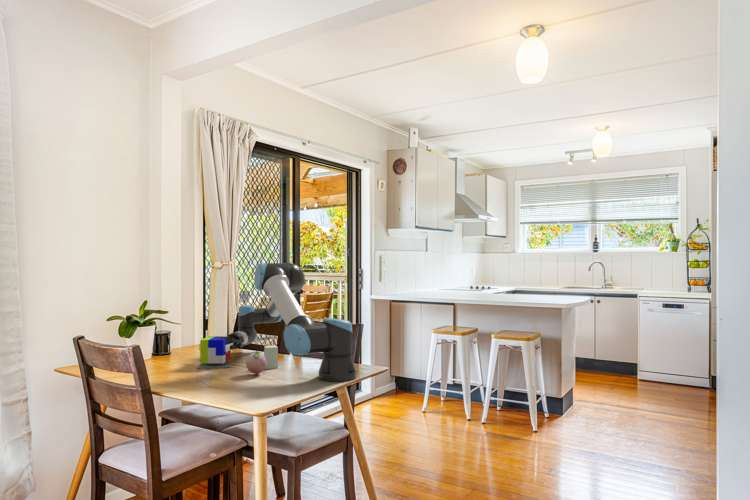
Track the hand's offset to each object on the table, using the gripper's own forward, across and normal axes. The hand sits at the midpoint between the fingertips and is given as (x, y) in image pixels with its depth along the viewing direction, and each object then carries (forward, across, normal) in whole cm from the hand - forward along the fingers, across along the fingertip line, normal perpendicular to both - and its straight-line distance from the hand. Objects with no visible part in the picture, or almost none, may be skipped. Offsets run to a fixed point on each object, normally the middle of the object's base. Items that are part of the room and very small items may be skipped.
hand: (212, 348), depth 222 cm
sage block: (-4, -26, -8) cm, 27 cm away
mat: (-2, 0, -8) cm, 8 cm away
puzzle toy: (-2, 0, -6) cm, 7 cm away
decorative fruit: (+10, -25, -8) cm, 29 cm away
